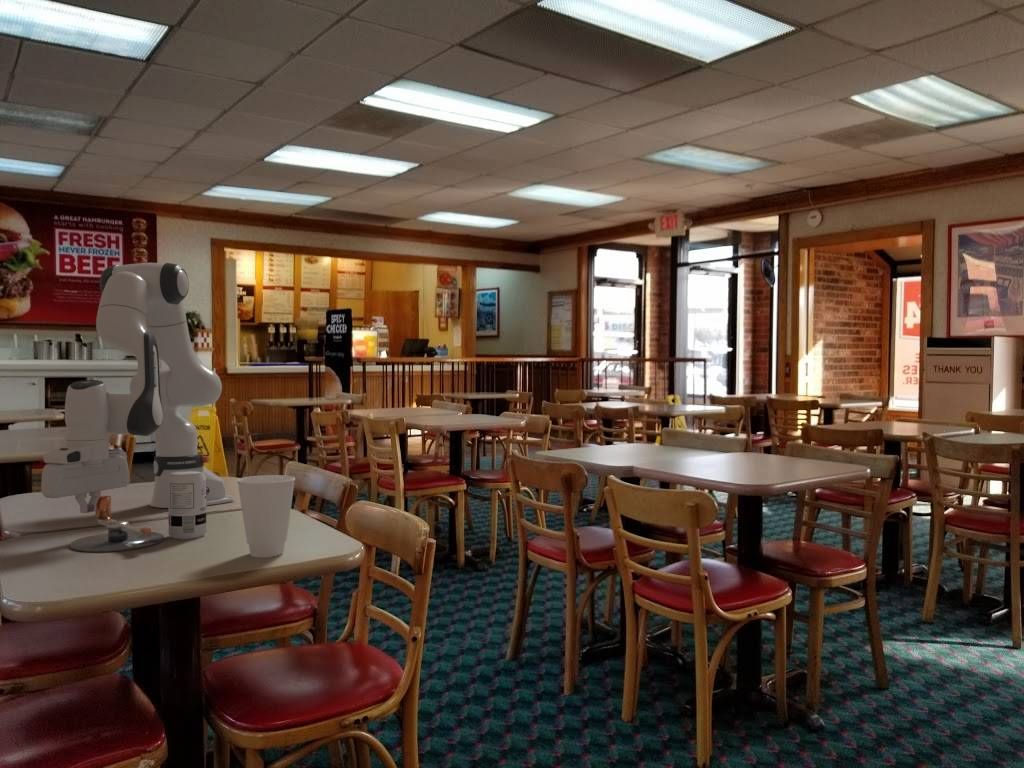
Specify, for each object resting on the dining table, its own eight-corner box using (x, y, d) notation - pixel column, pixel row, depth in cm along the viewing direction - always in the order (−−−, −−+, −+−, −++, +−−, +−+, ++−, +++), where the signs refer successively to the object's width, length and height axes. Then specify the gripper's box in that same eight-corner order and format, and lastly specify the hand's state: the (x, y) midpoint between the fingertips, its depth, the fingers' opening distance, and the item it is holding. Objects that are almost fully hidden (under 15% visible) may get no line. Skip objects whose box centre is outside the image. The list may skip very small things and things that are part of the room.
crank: (158, 535, 174) (157, 507, 174) (137, 539, 171) (137, 510, 171) (110, 521, 191) (109, 494, 190) (90, 523, 187) (90, 497, 187)
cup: (240, 562, 164) (239, 484, 164) (235, 550, 175) (234, 476, 175) (300, 557, 169) (299, 480, 169) (291, 545, 180) (290, 473, 180)
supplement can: (162, 536, 189) (161, 472, 189) (196, 531, 195) (196, 469, 195) (178, 541, 184) (177, 475, 183) (212, 536, 190) (212, 472, 189)
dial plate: (149, 530, 196) (148, 518, 196) (175, 543, 182) (175, 530, 182) (61, 541, 184) (61, 528, 184) (82, 556, 169) (82, 542, 169)
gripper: (116, 446, 195) (117, 503, 195) (36, 455, 176) (37, 518, 177) (135, 447, 192) (136, 505, 193) (55, 457, 174) (56, 521, 174)
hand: (88, 512), depth 185 cm, fingers closed
